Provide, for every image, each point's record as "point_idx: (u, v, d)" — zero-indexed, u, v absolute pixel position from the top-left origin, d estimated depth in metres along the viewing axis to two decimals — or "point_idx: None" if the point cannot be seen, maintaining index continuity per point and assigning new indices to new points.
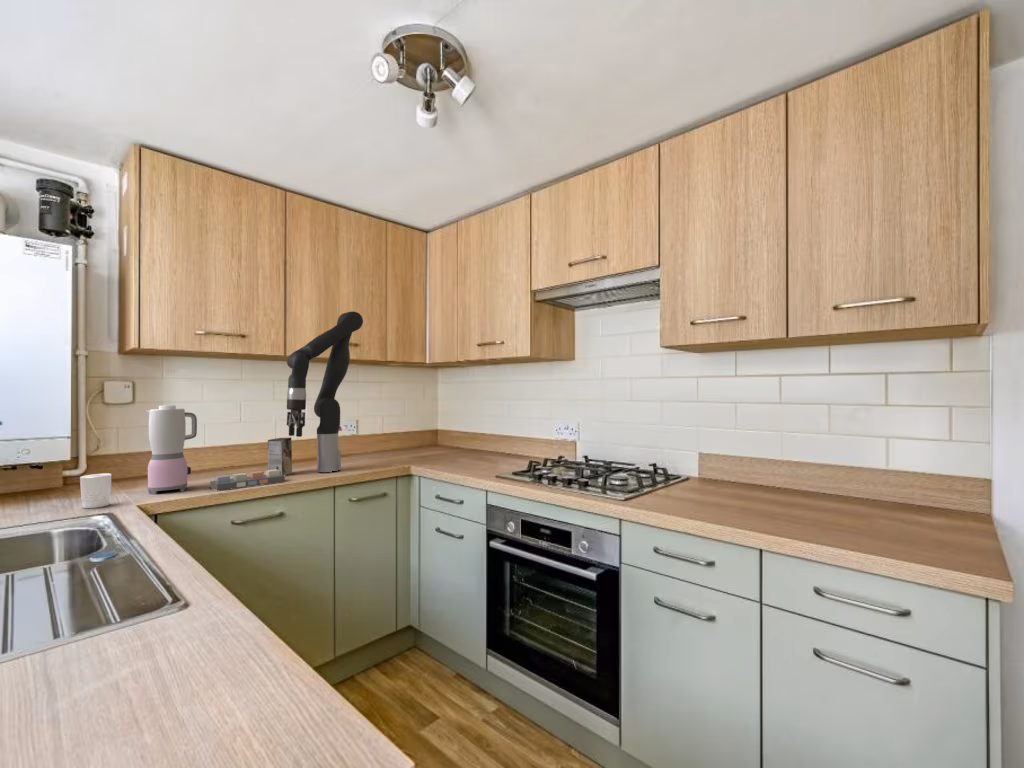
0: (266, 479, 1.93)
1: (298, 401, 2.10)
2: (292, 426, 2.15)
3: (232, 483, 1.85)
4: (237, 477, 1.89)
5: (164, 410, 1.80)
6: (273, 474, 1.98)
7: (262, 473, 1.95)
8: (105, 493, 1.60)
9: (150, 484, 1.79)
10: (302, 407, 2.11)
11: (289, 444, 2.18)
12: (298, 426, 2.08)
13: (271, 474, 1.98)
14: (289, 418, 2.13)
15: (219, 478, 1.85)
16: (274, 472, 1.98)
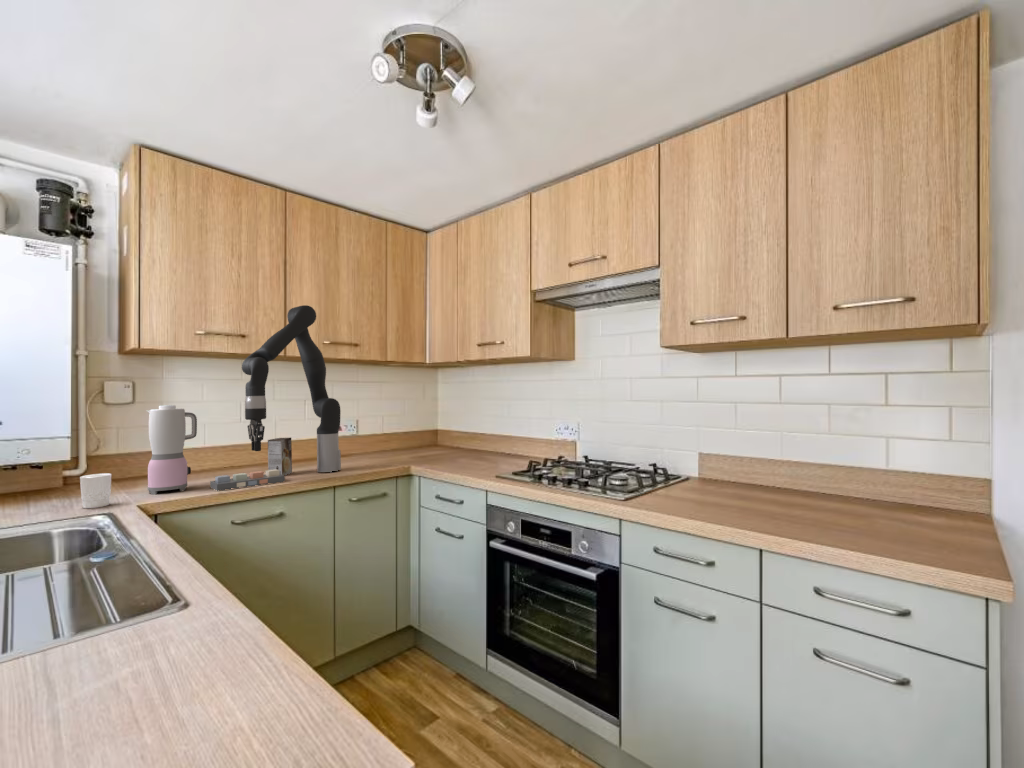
0: (266, 479, 1.93)
1: (257, 410, 1.93)
2: None
3: (232, 483, 1.85)
4: (237, 477, 1.89)
5: (164, 410, 1.80)
6: (273, 474, 1.98)
7: (262, 473, 1.95)
8: (105, 493, 1.60)
9: (150, 484, 1.79)
10: (262, 416, 1.94)
11: (289, 444, 2.18)
12: (256, 441, 1.93)
13: (271, 474, 1.98)
14: (249, 430, 1.96)
15: (219, 478, 1.85)
16: (274, 472, 1.98)
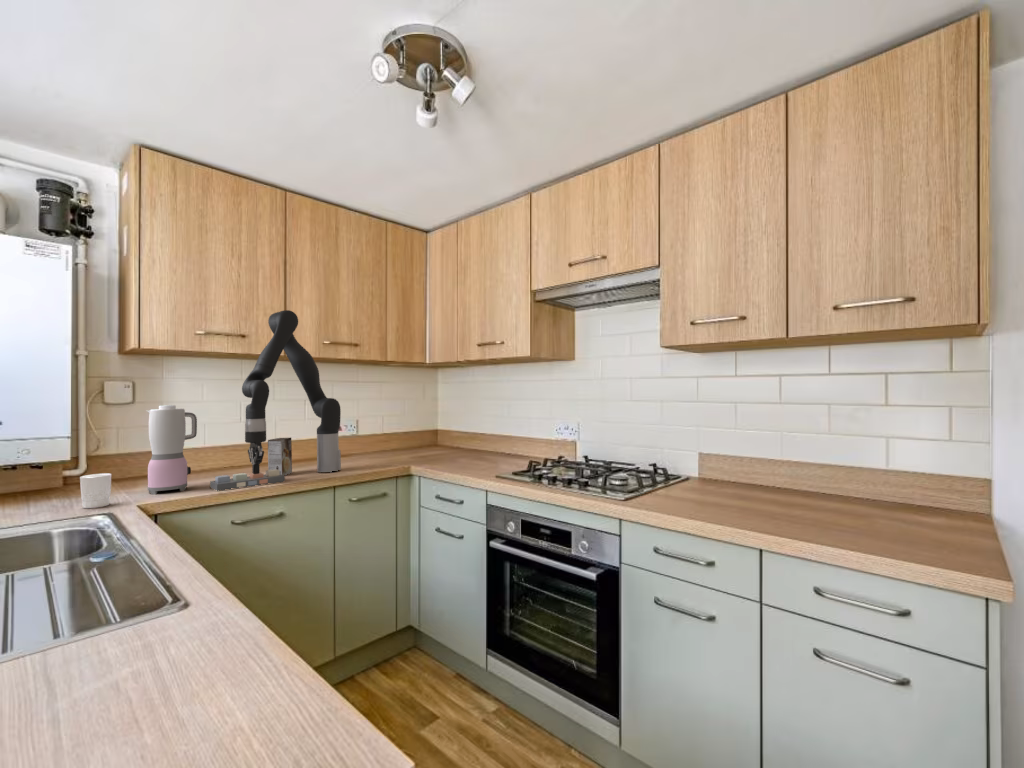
0: (266, 479, 1.93)
1: (257, 433, 1.93)
2: None
3: (232, 483, 1.85)
4: (237, 477, 1.89)
5: (164, 410, 1.80)
6: (273, 474, 1.98)
7: (262, 474, 1.95)
8: (105, 493, 1.60)
9: (150, 484, 1.79)
10: (262, 439, 1.94)
11: (289, 444, 2.18)
12: (254, 464, 1.94)
13: (271, 474, 1.98)
14: (250, 453, 1.96)
15: (219, 478, 1.85)
16: (274, 472, 1.98)
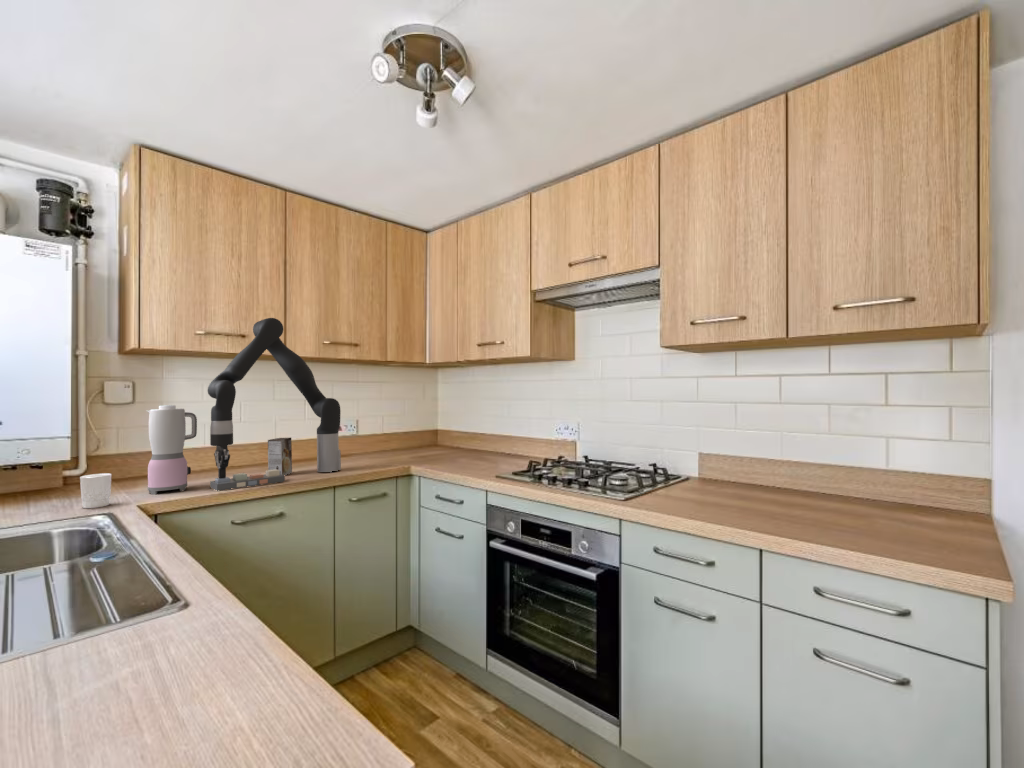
0: (266, 479, 1.93)
1: (222, 436, 1.85)
2: None
3: (232, 483, 1.85)
4: (237, 477, 1.89)
5: (164, 410, 1.80)
6: (273, 474, 1.98)
7: (262, 475, 1.95)
8: (105, 493, 1.60)
9: (150, 484, 1.79)
10: (228, 442, 1.86)
11: (289, 444, 2.18)
12: (220, 468, 1.86)
13: (271, 474, 1.98)
14: (215, 456, 1.87)
15: (219, 480, 1.85)
16: (274, 472, 1.98)
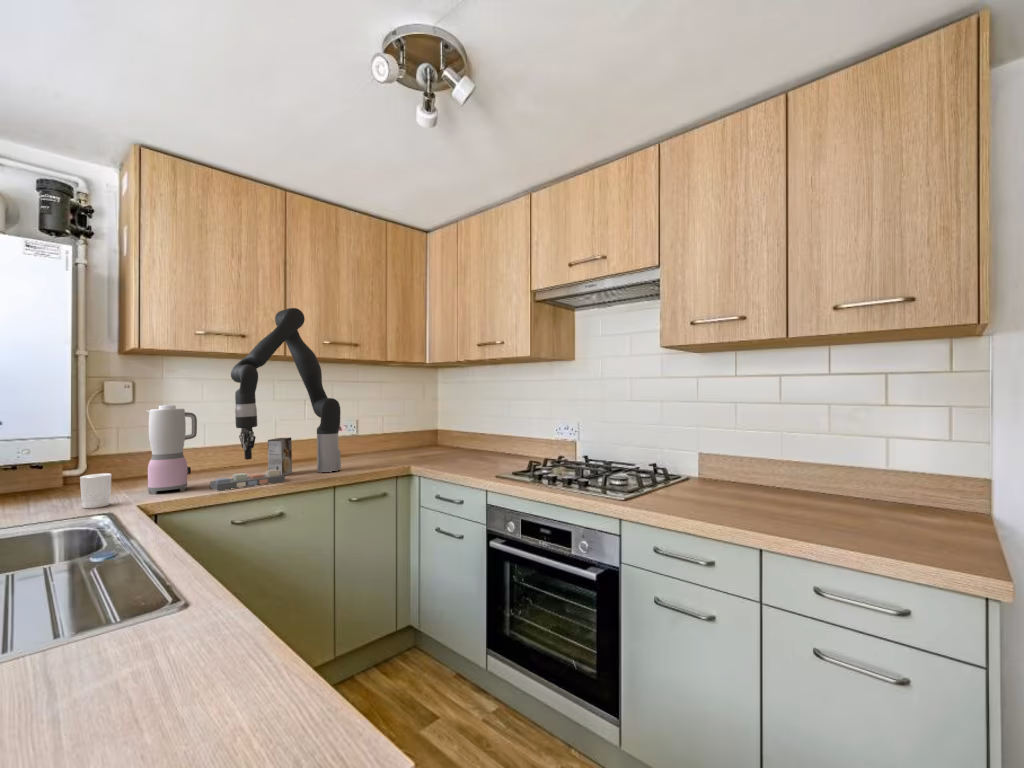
0: (266, 479, 1.93)
1: (247, 418, 1.91)
2: None
3: (232, 483, 1.85)
4: (237, 477, 1.89)
5: (164, 410, 1.80)
6: (273, 474, 1.98)
7: (262, 475, 1.95)
8: (105, 493, 1.60)
9: (150, 484, 1.79)
10: (253, 424, 1.92)
11: (289, 444, 2.18)
12: (246, 449, 1.92)
13: (271, 474, 1.98)
14: (241, 438, 1.94)
15: (219, 481, 1.85)
16: (274, 472, 1.98)
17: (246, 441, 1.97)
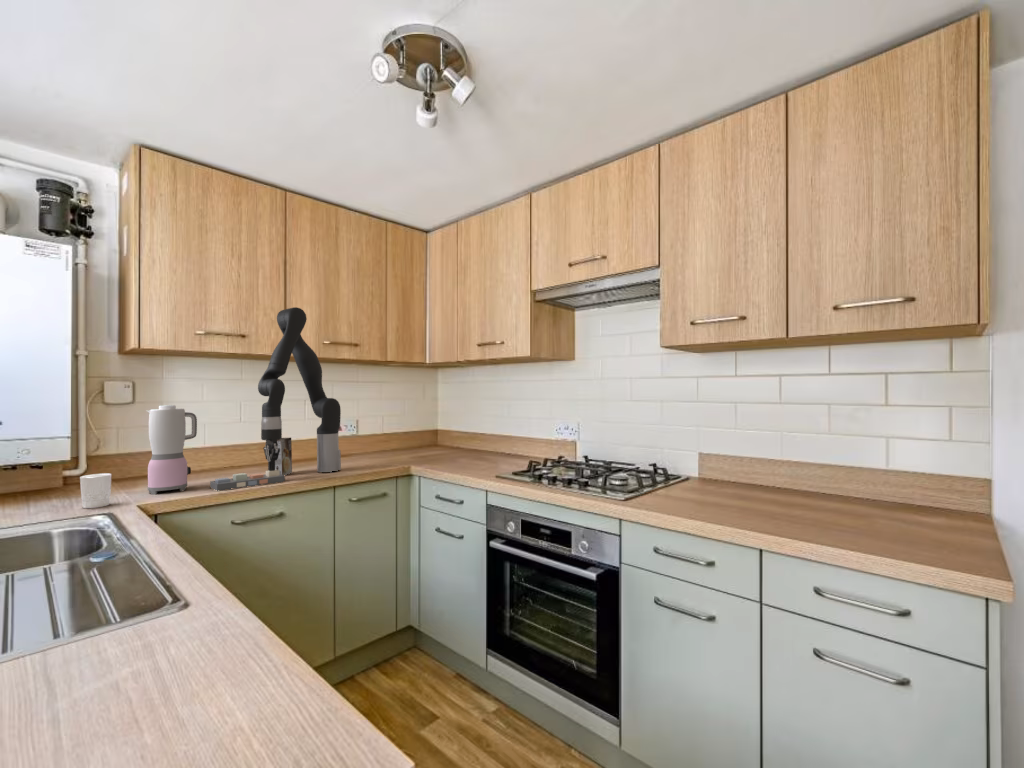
0: (266, 479, 1.93)
1: (273, 431, 1.97)
2: None
3: (232, 483, 1.85)
4: (237, 477, 1.89)
5: (164, 410, 1.80)
6: (273, 474, 1.98)
7: (262, 475, 1.95)
8: (105, 493, 1.60)
9: (150, 484, 1.79)
10: (277, 437, 1.98)
11: (289, 444, 2.18)
12: (270, 461, 1.98)
13: (271, 474, 1.98)
14: (265, 450, 2.00)
15: (219, 481, 1.85)
16: (274, 472, 1.98)
17: None
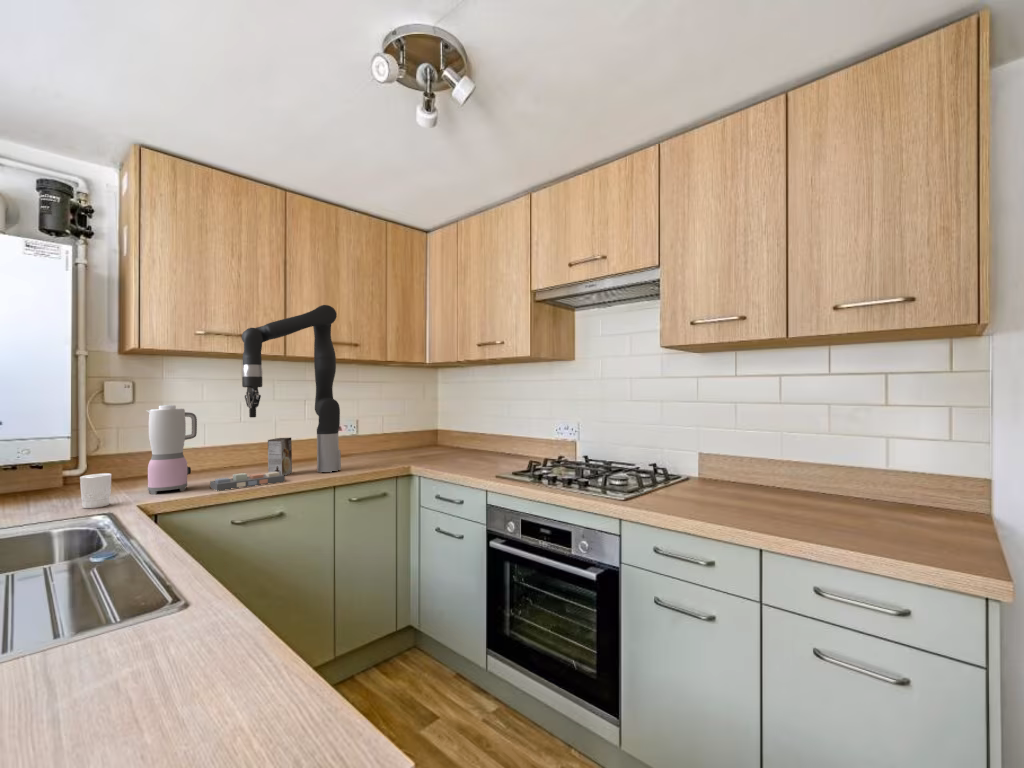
0: (266, 479, 1.93)
1: (254, 378, 2.03)
2: None
3: (232, 483, 1.85)
4: (237, 477, 1.89)
5: (164, 410, 1.80)
6: None
7: (262, 475, 1.95)
8: (105, 493, 1.60)
9: (150, 484, 1.79)
10: (258, 384, 2.04)
11: (289, 444, 2.18)
12: (251, 407, 2.04)
13: None
14: (247, 397, 2.05)
15: (219, 481, 1.85)
16: (274, 474, 1.98)
17: (251, 401, 2.08)
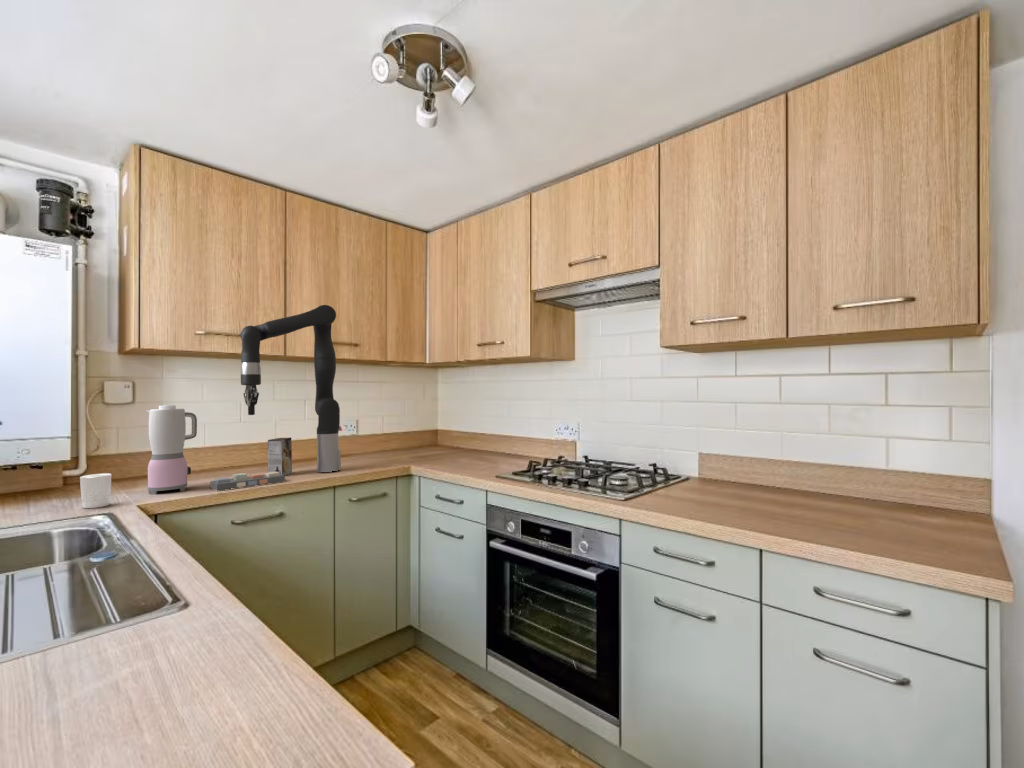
0: (266, 479, 1.93)
1: (252, 376, 2.04)
2: None
3: (232, 483, 1.85)
4: (237, 477, 1.89)
5: (164, 410, 1.80)
6: None
7: (262, 475, 1.95)
8: (105, 493, 1.60)
9: (150, 484, 1.79)
10: (257, 382, 2.05)
11: (289, 444, 2.18)
12: (250, 405, 2.05)
13: None
14: (245, 395, 2.06)
15: (219, 481, 1.85)
16: (274, 474, 1.98)
17: None
